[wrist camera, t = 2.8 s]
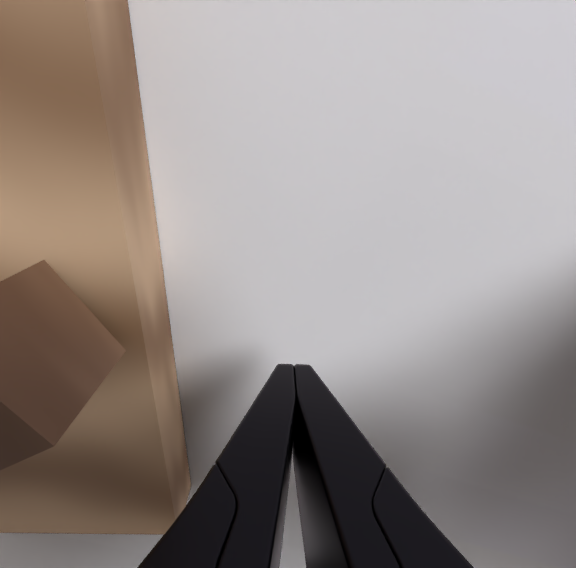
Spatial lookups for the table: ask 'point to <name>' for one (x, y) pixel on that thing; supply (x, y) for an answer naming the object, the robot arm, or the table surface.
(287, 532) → the table surface
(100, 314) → the stool seat
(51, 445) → the stool leg
